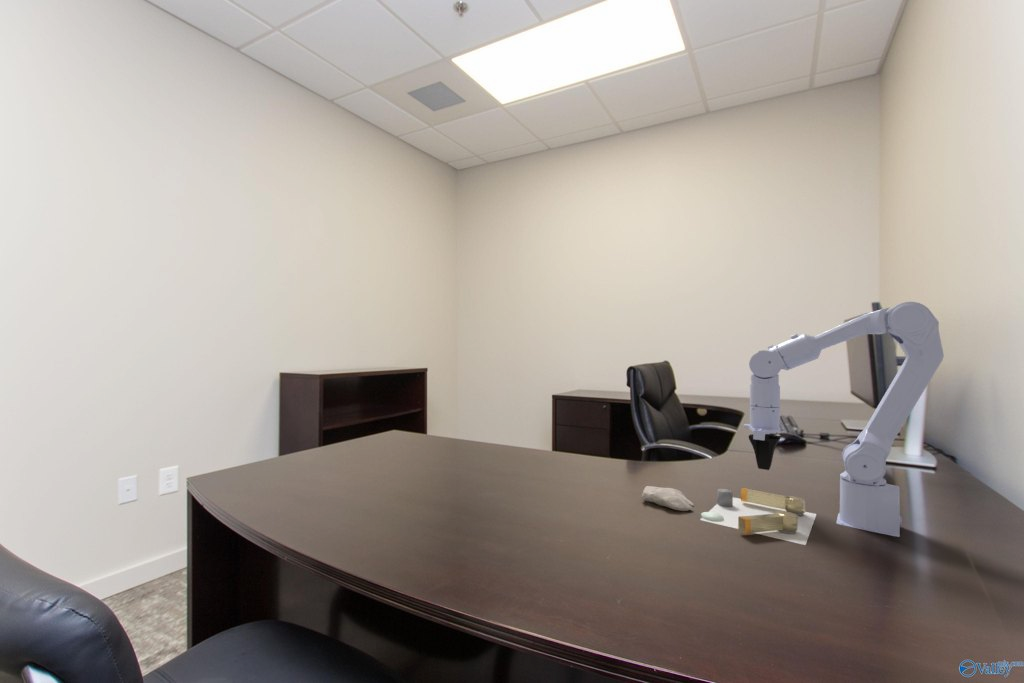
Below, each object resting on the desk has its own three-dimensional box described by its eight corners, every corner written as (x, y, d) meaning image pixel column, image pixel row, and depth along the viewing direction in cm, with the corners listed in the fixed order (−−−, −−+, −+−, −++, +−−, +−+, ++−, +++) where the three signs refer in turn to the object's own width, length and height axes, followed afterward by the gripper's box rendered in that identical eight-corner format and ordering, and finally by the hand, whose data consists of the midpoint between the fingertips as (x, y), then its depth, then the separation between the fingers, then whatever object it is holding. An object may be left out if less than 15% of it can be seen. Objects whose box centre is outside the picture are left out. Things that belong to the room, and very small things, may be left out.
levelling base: (816, 516, 94) (816, 499, 94) (805, 547, 79) (805, 527, 79) (723, 497, 106) (723, 482, 106) (697, 521, 90) (697, 503, 90)
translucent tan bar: (785, 523, 87) (785, 510, 87) (802, 530, 84) (802, 516, 84) (734, 528, 84) (734, 514, 84) (749, 536, 80) (749, 521, 80)
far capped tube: (806, 510, 94) (806, 498, 95) (804, 515, 92) (804, 502, 92) (743, 498, 102) (743, 486, 102) (739, 501, 99) (740, 490, 99)
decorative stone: (702, 519, 93) (680, 502, 107) (704, 500, 93) (682, 486, 108) (648, 508, 94) (634, 493, 108) (650, 490, 94) (636, 477, 109)
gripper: (750, 402, 108) (749, 459, 107) (737, 407, 96) (736, 472, 96) (785, 404, 103) (784, 464, 103) (775, 410, 92) (775, 478, 92)
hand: (764, 468), depth 99 cm, fingers closed
